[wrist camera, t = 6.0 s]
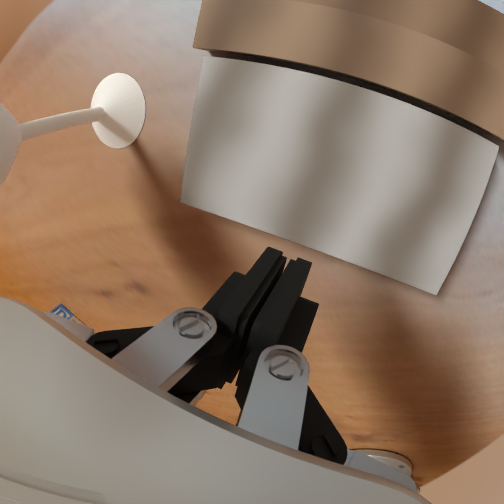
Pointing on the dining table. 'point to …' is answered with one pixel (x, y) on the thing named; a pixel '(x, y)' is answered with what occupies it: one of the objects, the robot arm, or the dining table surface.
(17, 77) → the dining table surface
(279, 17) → the walnut floor strip
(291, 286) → the robot arm
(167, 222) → the dining table surface
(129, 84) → the champagne flute
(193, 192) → the grey plank
